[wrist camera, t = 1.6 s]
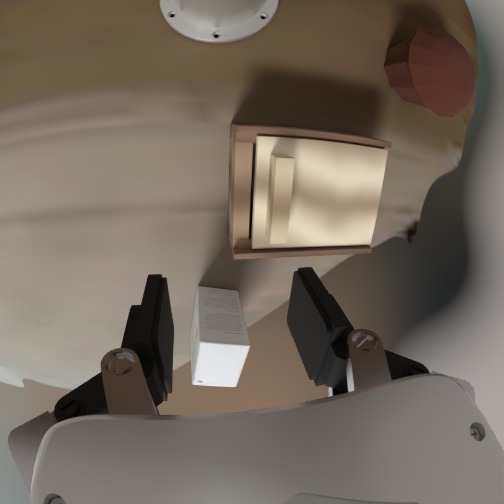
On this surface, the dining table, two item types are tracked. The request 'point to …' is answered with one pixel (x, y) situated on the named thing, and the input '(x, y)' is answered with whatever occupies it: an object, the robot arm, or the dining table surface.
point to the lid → (315, 192)
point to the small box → (218, 338)
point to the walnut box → (244, 188)
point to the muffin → (431, 71)
